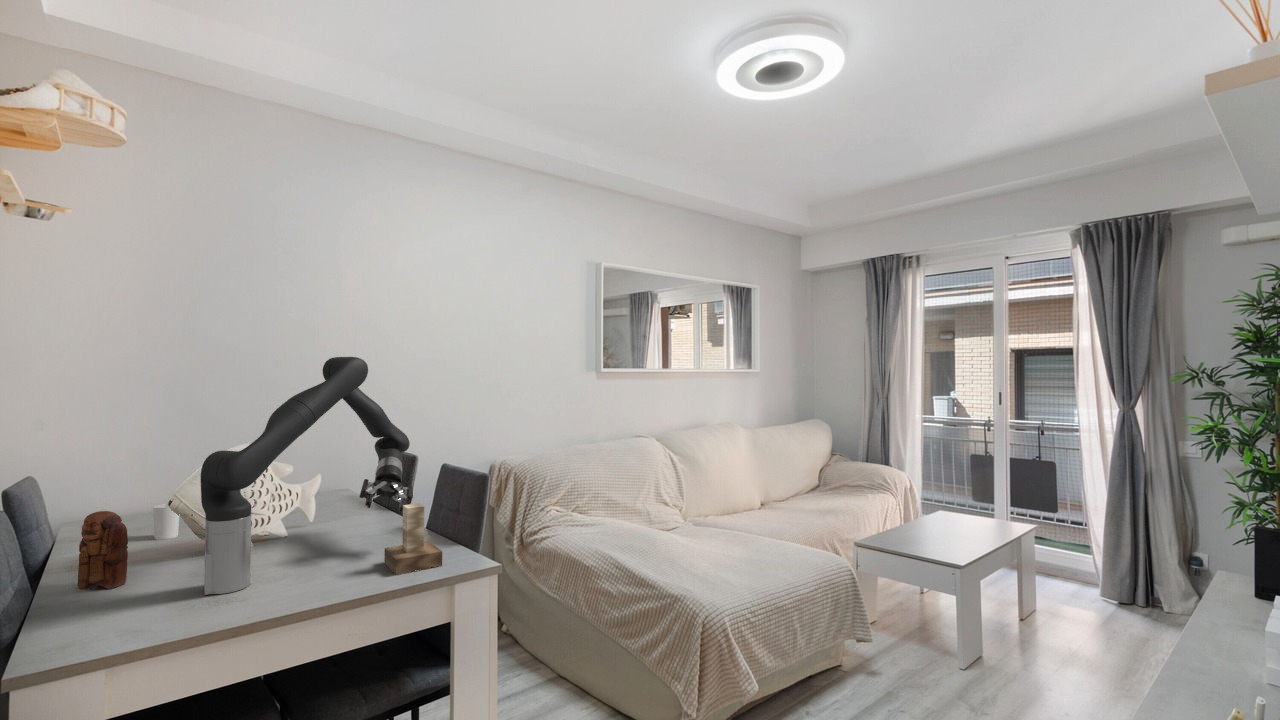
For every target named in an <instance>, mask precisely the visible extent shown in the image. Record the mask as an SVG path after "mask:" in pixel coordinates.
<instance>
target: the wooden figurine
mask: <svg viewBox="0 0 1280 720" xmlns="http://www.w3.org/2000/svg"><path fill="white" fill-rule="evenodd" d="M122 521H123V520H122V518H121V516H120V515H118V514H117V513H115V512H113V511H110V510H100V511H95V512H92V513H90V514H88V515H86V517H85V518H84V520H83V524H82V525H81V531H80V532H81V533H80V535H81V537H82V538H81V541H80V543H79V545H78V551H79V555H78V568H77V569H78V570H77V571H78V573H77V588H78V589H79V590H101V589H109V590H110V589H115V588H117V587H119V586H122V585H125V584H126V582H127V573H128V557H129V553H128V549H129V547H128V544H129V537H128V536H129V535H128V527H127V525H126V524H124V523H123V522H122Z"/></svg>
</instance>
